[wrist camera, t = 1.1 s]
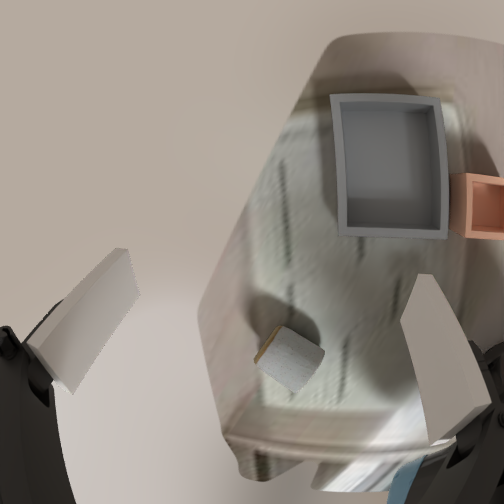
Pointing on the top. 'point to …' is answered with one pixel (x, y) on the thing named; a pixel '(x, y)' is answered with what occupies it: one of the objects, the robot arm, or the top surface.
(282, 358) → the ceramic mug
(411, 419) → the top surface
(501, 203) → the small clay-red crate
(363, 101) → the large grey crate
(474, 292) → the top surface
